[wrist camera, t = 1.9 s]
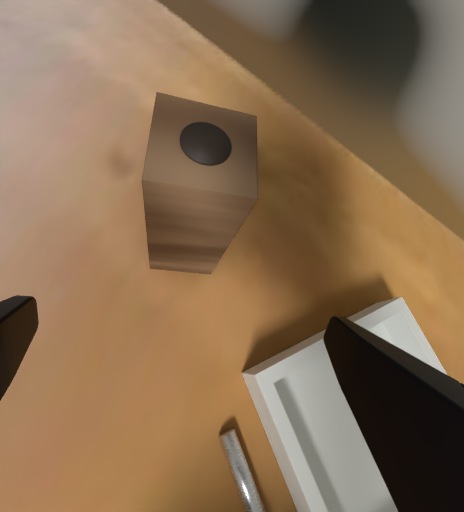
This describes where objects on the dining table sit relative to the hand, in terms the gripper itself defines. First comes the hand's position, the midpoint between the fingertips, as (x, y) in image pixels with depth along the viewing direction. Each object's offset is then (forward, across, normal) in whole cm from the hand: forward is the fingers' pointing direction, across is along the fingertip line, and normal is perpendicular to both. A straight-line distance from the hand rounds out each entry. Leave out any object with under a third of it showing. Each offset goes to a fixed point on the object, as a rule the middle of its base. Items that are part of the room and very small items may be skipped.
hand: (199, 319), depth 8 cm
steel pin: (+3, -6, +16) cm, 17 cm away
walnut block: (+15, 0, +4) cm, 16 cm away
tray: (+5, -15, +13) cm, 21 cm away
